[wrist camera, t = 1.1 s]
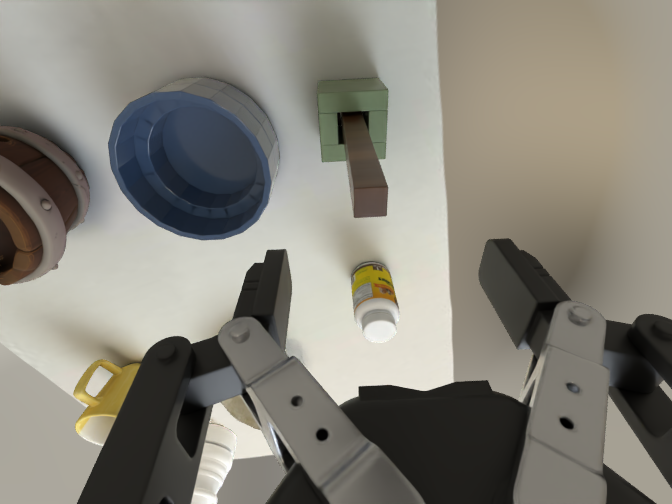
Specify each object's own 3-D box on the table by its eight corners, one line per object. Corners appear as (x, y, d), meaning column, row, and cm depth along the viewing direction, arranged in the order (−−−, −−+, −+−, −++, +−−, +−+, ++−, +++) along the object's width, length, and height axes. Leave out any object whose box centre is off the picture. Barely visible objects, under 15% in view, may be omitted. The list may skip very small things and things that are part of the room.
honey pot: (222, 418, 68) (194, 529, 54) (246, 446, 76) (227, 550, 61) (165, 427, 70) (122, 537, 55) (194, 454, 77) (163, 557, 63)
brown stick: (340, 102, 33) (353, 188, 17) (358, 101, 33) (388, 186, 17) (340, 121, 35) (354, 218, 18) (358, 120, 34) (386, 216, 18)
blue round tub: (124, 80, 32) (77, 96, 26) (268, 72, 32) (255, 86, 26) (172, 208, 40) (145, 243, 34) (287, 202, 40) (280, 236, 34)
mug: (182, 385, 61) (159, 445, 53) (130, 391, 62) (99, 452, 54) (146, 337, 53) (112, 399, 45) (86, 345, 54) (42, 407, 46)
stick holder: (318, 80, 32) (316, 93, 27) (379, 77, 32) (388, 89, 27) (322, 141, 36) (321, 162, 31) (377, 139, 36) (385, 159, 31)
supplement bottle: (397, 279, 47) (412, 335, 39) (363, 295, 49) (371, 353, 41) (377, 253, 45) (389, 308, 36) (342, 271, 46) (346, 328, 38)
